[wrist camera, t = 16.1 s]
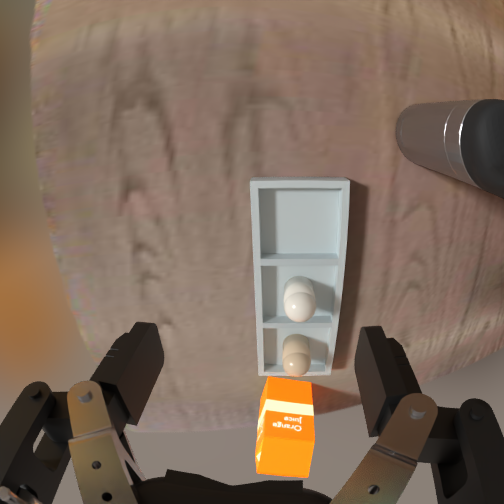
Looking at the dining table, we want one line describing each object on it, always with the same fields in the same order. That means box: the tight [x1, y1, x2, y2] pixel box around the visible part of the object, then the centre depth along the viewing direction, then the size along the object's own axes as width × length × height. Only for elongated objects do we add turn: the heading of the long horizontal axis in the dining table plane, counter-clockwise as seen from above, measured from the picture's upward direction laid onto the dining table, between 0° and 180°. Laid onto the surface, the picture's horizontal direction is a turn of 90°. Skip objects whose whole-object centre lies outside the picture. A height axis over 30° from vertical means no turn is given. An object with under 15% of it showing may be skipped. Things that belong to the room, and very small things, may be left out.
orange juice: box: [255, 376, 315, 477], centre depth 48 cm, size 8×9×20 cm
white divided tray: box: [250, 177, 350, 376], centre depth 46 cm, size 13×34×3 cm, turn 2°
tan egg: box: [282, 334, 311, 377], centre depth 48 cm, size 5×5×7 cm
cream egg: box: [284, 276, 316, 322], centre depth 43 cm, size 5×5×7 cm
